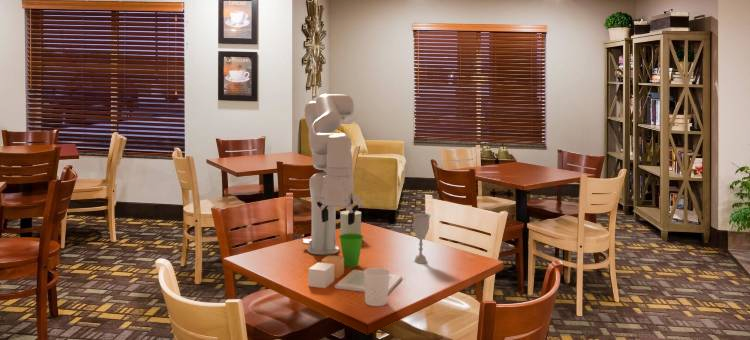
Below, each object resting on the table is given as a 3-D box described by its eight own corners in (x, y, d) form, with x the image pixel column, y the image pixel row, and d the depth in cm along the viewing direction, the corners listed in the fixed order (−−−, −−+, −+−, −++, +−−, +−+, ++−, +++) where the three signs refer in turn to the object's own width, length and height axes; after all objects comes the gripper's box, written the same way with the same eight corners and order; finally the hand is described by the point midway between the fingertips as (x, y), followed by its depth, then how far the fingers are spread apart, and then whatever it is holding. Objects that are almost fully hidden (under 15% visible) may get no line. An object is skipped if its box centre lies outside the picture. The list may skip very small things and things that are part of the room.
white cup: (373, 296, 194) (373, 265, 193) (393, 301, 190) (394, 270, 188) (358, 303, 188) (358, 272, 186) (379, 309, 183) (380, 276, 182)
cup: (366, 263, 230) (366, 234, 228) (358, 270, 221) (358, 240, 220) (344, 260, 233) (344, 232, 231) (335, 267, 224) (335, 237, 223)
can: (363, 236, 270) (363, 210, 268) (358, 241, 261) (358, 214, 259) (343, 235, 272) (343, 208, 270) (337, 240, 263) (337, 212, 261)
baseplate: (334, 288, 201) (334, 284, 201) (353, 272, 218) (353, 269, 218) (386, 294, 196) (387, 291, 196) (402, 278, 213) (402, 274, 213)
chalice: (428, 264, 229) (429, 217, 226) (410, 263, 230) (411, 216, 228) (430, 259, 236) (431, 213, 234) (412, 258, 237) (414, 212, 235)
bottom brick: (308, 286, 203) (308, 268, 202) (318, 279, 211) (318, 262, 210) (325, 288, 201) (325, 270, 201) (334, 281, 209) (334, 264, 208)
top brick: (321, 276, 214) (321, 259, 213) (328, 271, 219) (328, 255, 218) (337, 278, 212) (337, 261, 211) (343, 273, 217) (343, 257, 217)
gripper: (309, 172, 204) (309, 222, 206) (357, 175, 197) (356, 227, 199) (320, 169, 211) (320, 218, 213) (366, 172, 204) (366, 223, 206)
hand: (338, 222), depth 206 cm, fingers open, 9 cm apart
